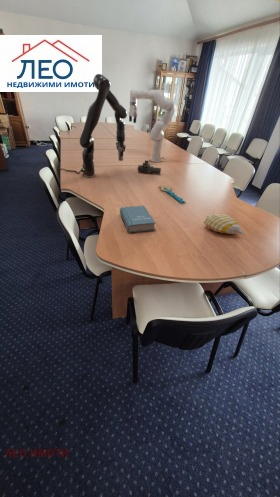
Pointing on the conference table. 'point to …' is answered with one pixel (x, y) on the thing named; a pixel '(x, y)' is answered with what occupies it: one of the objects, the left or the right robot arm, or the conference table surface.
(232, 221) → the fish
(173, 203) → the conference table surface
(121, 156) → the tin
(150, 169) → the laser sight
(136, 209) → the book
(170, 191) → the logo
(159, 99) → the right robot arm
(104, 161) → the conference table surface
